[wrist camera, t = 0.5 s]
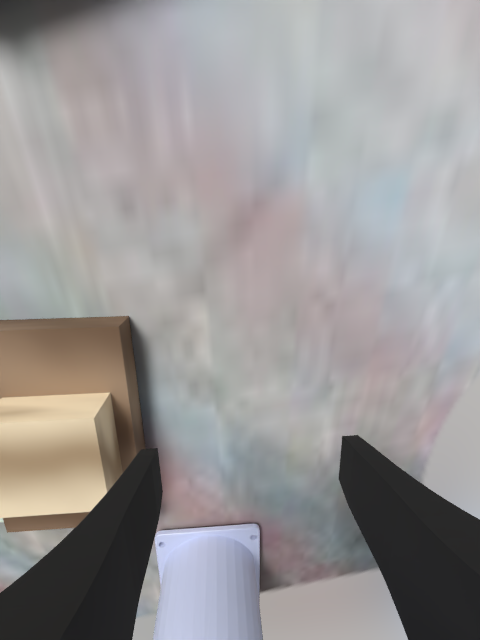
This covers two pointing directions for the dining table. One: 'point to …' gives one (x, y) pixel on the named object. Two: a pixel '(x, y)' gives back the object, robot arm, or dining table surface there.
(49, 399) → the oak tile
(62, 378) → the walnut board
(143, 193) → the dining table surface
